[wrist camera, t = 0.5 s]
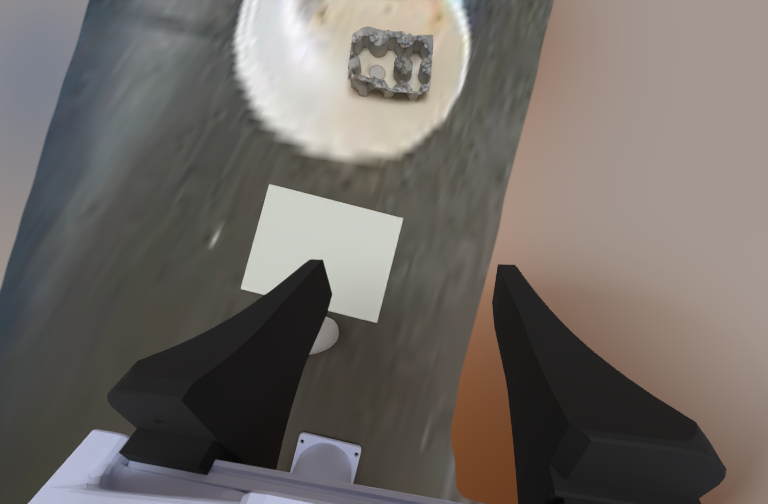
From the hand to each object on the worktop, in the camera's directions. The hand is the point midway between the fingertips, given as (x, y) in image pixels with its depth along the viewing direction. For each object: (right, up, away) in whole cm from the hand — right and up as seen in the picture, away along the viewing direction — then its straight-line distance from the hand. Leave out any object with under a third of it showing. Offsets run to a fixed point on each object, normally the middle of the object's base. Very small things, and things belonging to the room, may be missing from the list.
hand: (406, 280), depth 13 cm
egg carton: (0, +25, +29) cm, 38 cm away
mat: (-9, +1, +27) cm, 29 cm away
